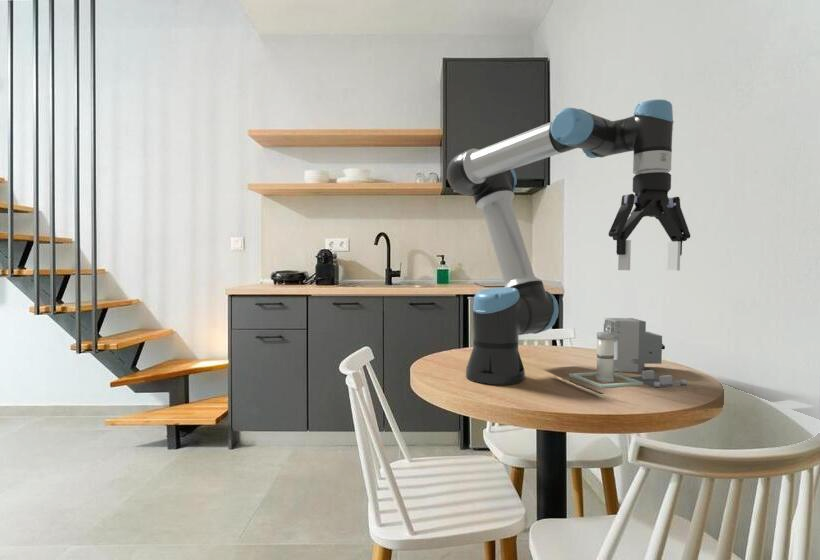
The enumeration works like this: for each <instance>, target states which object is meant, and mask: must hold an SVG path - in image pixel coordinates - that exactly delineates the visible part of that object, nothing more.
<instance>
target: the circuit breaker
mask: <svg viewBox="0 0 820 560" xmlns="http://www.w3.org/2000/svg"><path fill="white" fill-rule="evenodd" d="M646 326H647V321H645V320H642V319H638V318H632V317H604V323H603V331H602V332H607V333H614V334H615V338H614V372H618V373H619V372H620V373H623V372H624V373H625V372H627V373H630V372H631V373H634V372H635V373H642V371H645V368H646V367H645V366H646V364H650V365H653V364H656V365H657V364H659V365H661V364H662V360H663V359H662V356H663V352H662V351H663V350H665V348H666V346H665V345H664V343H663V336H662V335H661V334H657V333H653V332H651V331H646V330H647V329H646V328H647V327H646Z"/></svg>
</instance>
